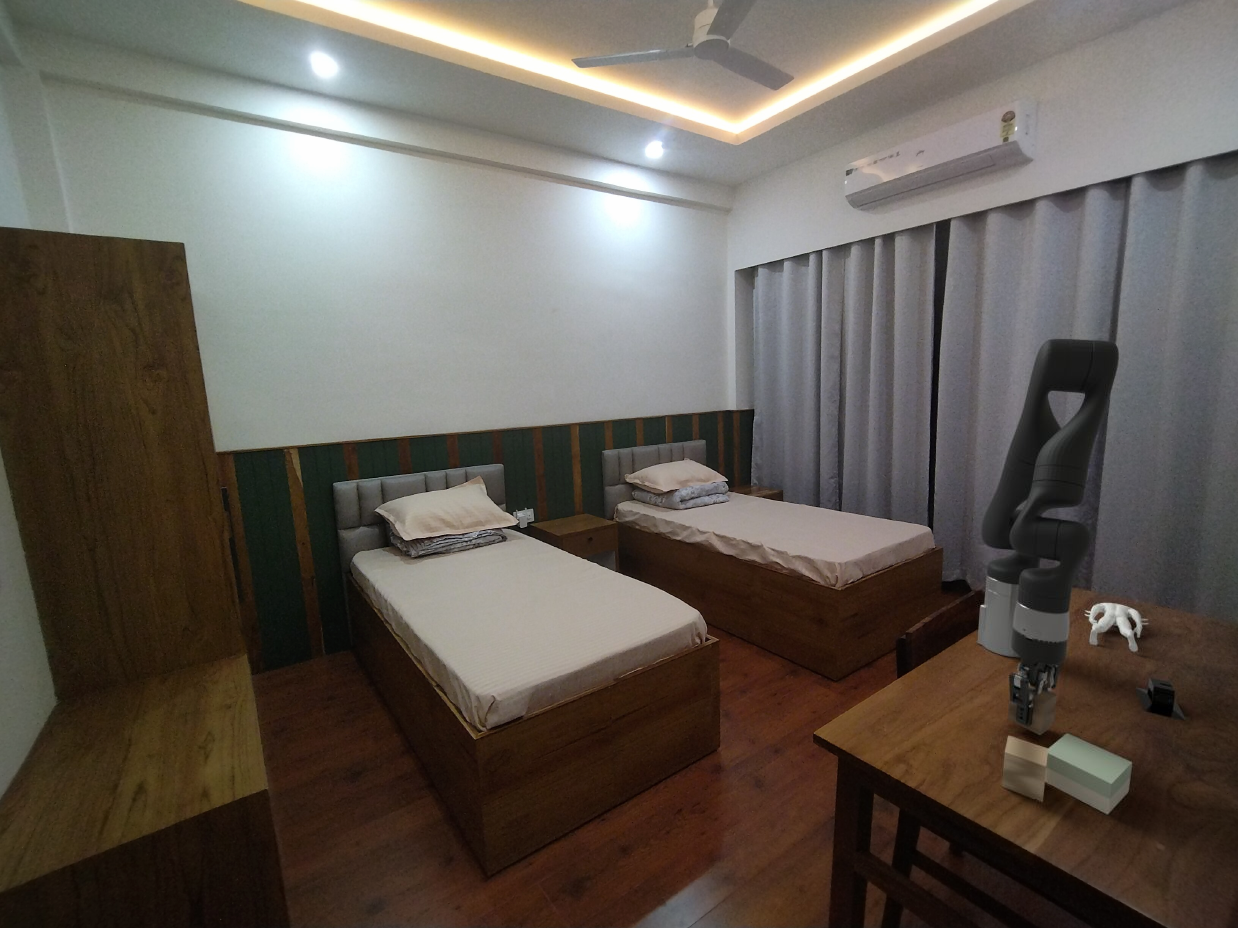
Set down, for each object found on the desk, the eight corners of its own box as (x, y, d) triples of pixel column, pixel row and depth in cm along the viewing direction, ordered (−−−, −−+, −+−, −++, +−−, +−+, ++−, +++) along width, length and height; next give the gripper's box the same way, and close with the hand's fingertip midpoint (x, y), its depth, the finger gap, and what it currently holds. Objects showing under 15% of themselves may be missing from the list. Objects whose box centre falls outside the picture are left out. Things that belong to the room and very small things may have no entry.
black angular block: (1194, 730, 94) (1198, 706, 94) (1138, 716, 99) (1141, 693, 98) (1176, 695, 104) (1180, 674, 104) (1126, 684, 109) (1129, 663, 108)
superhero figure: (1144, 662, 118) (1143, 625, 135) (1152, 639, 116) (1150, 604, 134) (1077, 640, 125) (1084, 608, 143) (1083, 618, 124) (1090, 588, 142)
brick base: (1041, 779, 83) (1044, 751, 82) (1064, 760, 87) (1067, 733, 86) (1107, 814, 76) (1111, 783, 76) (1128, 791, 80) (1132, 762, 80)
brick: (1001, 786, 82) (1004, 751, 81) (1005, 768, 86) (1008, 735, 85) (1042, 802, 79) (1046, 766, 78) (1044, 783, 83) (1048, 748, 82)
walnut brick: (1007, 719, 95) (1010, 689, 94) (1021, 710, 98) (1024, 680, 97) (1040, 735, 91) (1043, 703, 90) (1053, 724, 94) (1057, 694, 93)
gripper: (1034, 611, 98) (1026, 694, 101) (994, 631, 91) (987, 720, 94) (1084, 626, 92) (1074, 715, 95) (1046, 650, 85) (1036, 744, 88)
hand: (1030, 717), depth 94 cm, fingers closed on walnut brick, 5 cm apart
